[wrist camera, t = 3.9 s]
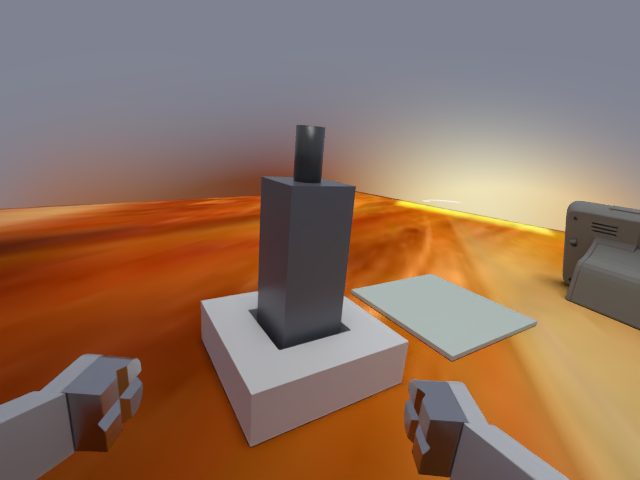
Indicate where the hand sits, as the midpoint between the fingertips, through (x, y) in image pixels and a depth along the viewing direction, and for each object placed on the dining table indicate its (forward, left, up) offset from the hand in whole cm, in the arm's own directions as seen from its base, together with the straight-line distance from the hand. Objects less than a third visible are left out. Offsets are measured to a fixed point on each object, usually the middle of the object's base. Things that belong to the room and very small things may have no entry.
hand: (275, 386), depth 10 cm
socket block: (+6, +9, -7) cm, 13 cm away
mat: (+22, +10, -7) cm, 25 cm away
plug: (+6, +9, -7) cm, 13 cm away
